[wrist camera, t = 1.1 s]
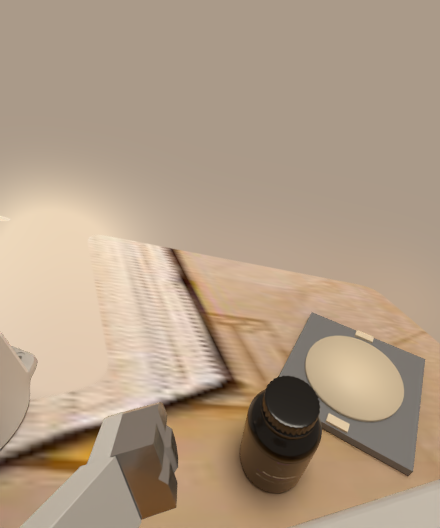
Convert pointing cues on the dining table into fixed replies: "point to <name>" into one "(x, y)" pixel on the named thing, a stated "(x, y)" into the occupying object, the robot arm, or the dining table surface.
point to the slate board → (361, 389)
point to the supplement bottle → (281, 434)
